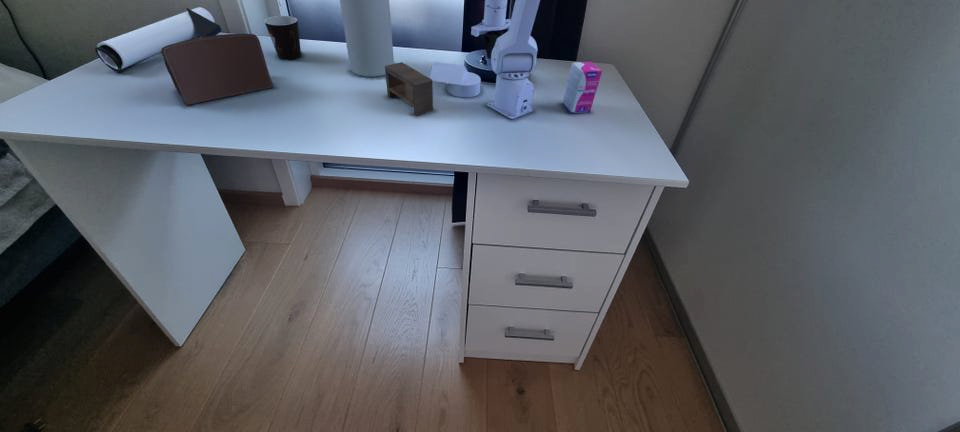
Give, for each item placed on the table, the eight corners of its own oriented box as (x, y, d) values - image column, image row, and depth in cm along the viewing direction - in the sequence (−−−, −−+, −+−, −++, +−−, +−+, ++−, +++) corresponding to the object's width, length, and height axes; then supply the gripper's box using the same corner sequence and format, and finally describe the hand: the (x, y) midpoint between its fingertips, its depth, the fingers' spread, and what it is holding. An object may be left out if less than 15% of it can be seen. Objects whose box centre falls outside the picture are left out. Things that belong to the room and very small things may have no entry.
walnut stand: (433, 110, 99) (432, 79, 93) (416, 116, 96) (415, 84, 91) (403, 91, 105) (401, 61, 100) (387, 96, 103) (384, 66, 97)
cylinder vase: (373, 81, 109) (361, -22, 92) (341, 69, 113) (323, -31, 97) (403, 68, 117) (397, -29, 100) (371, 57, 121) (360, -38, 105)
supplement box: (571, 114, 102) (581, 71, 95) (561, 104, 106) (571, 61, 99) (590, 113, 104) (603, 70, 96) (580, 102, 108) (591, 60, 100)
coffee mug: (275, 51, 120) (265, 16, 113) (305, 50, 122) (297, 15, 116) (272, 66, 112) (261, 29, 105) (304, 64, 114) (296, 28, 107)
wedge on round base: (429, 92, 106) (476, 99, 105) (428, 67, 102) (477, 74, 100) (438, 79, 113) (482, 85, 112) (438, 55, 108) (484, 62, 107)
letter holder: (274, 88, 102) (257, 30, 93) (186, 106, 92) (157, 44, 82) (261, 74, 107) (244, 19, 98) (176, 90, 97) (148, 30, 88)
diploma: (122, 87, 104) (143, 61, 97) (86, 56, 99) (105, 26, 93) (213, 43, 130) (234, 21, 123) (188, 17, 125) (208, -8, 119)
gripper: (504, -2, 108) (499, 49, 118) (464, 5, 101) (462, 58, 110) (523, 5, 105) (516, 56, 114) (483, 12, 97) (479, 67, 106)
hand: (491, 58), depth 112 cm, fingers closed
